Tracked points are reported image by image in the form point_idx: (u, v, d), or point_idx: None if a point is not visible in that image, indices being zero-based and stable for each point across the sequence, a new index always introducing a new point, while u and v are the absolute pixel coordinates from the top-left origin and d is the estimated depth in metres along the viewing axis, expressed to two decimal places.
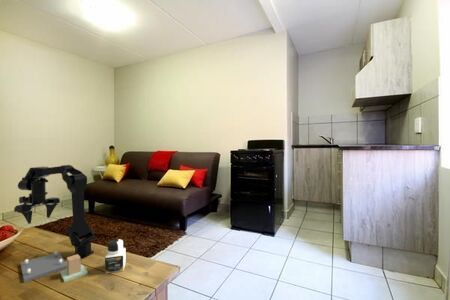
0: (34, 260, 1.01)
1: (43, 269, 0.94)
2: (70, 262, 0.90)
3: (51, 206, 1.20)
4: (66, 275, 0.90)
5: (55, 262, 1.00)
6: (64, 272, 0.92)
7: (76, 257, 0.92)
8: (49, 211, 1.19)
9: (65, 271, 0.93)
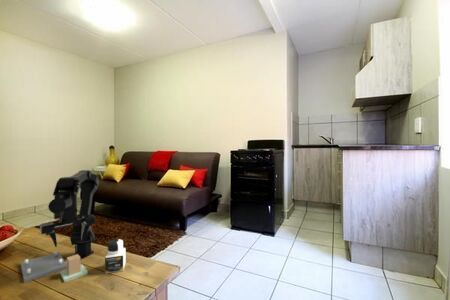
0: (34, 260, 1.01)
1: (43, 269, 0.94)
2: (70, 262, 0.90)
3: (84, 226, 0.96)
4: (66, 275, 0.90)
5: (55, 262, 1.00)
6: (64, 272, 0.92)
7: (76, 257, 0.92)
8: (82, 232, 0.96)
9: (65, 271, 0.93)
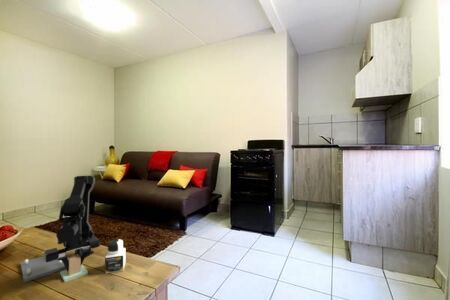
0: (34, 260, 1.01)
1: (43, 269, 0.94)
2: (70, 262, 0.90)
3: (82, 253, 0.93)
4: (66, 275, 0.90)
5: (55, 262, 1.00)
6: (64, 272, 0.92)
7: (76, 257, 0.92)
8: None
9: (65, 271, 0.93)
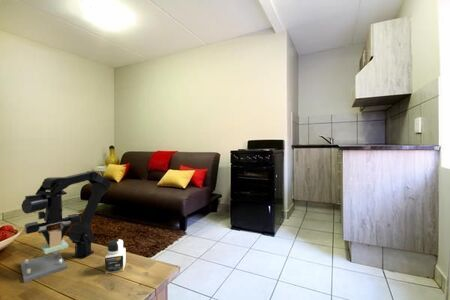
0: (34, 260, 1.01)
1: (43, 269, 0.94)
2: (51, 235, 0.93)
3: (62, 227, 0.96)
4: (47, 248, 0.92)
5: (55, 262, 1.00)
6: (45, 245, 0.95)
7: (56, 231, 0.95)
8: (61, 233, 0.97)
9: (46, 244, 0.95)
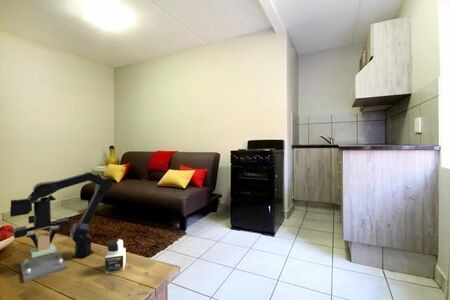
0: (34, 260, 1.01)
1: (43, 269, 0.94)
2: (39, 239, 0.95)
3: (51, 232, 0.98)
4: (35, 252, 0.95)
5: (55, 262, 1.00)
6: (34, 249, 0.97)
7: (45, 235, 0.97)
8: None
9: (35, 248, 0.98)
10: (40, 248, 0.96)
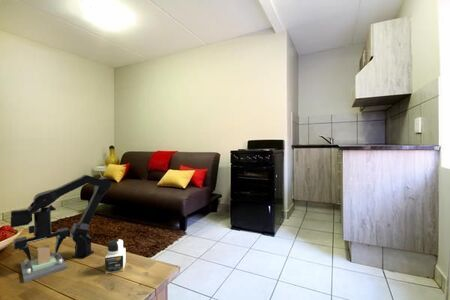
0: (34, 260, 1.01)
1: (43, 269, 0.94)
2: (39, 252, 0.95)
3: (57, 240, 1.00)
4: (35, 265, 0.95)
5: None
6: (34, 262, 0.97)
7: (45, 248, 0.97)
8: (56, 246, 1.00)
9: (35, 261, 0.98)
10: (40, 261, 0.96)
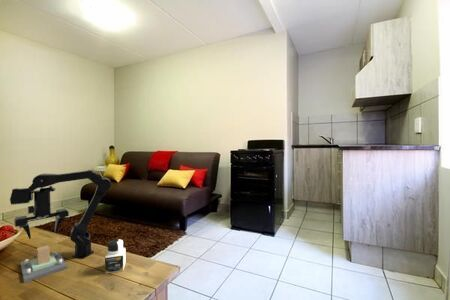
0: (34, 260, 1.01)
1: (43, 269, 0.94)
2: (39, 252, 0.95)
3: (57, 220, 1.03)
4: (35, 265, 0.95)
5: None
6: (34, 262, 0.97)
7: (45, 248, 0.97)
8: (56, 225, 1.04)
9: (35, 261, 0.98)
10: (40, 261, 0.96)
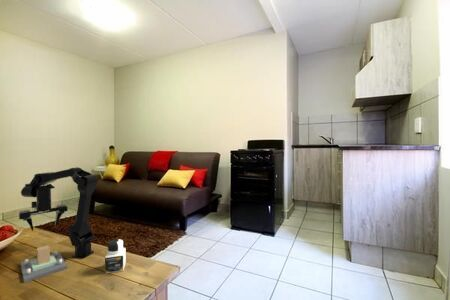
0: (34, 260, 1.01)
1: (43, 269, 0.94)
2: (39, 252, 0.95)
3: (57, 214, 1.14)
4: (35, 265, 0.95)
5: None
6: (34, 262, 0.97)
7: (45, 248, 0.97)
8: (56, 219, 1.14)
9: (35, 261, 0.98)
10: (40, 261, 0.96)
